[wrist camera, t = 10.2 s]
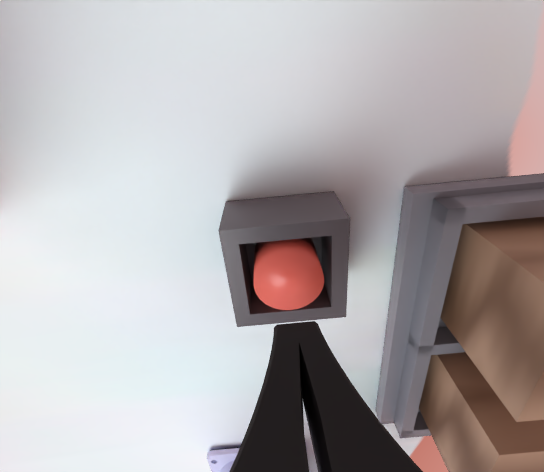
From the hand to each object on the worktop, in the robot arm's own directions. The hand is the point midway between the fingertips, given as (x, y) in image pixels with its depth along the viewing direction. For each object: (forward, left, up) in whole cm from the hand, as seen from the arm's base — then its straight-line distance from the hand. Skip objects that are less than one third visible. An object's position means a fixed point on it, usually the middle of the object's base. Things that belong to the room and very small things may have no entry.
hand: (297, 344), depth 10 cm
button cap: (0, 0, -6) cm, 6 cm away
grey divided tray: (-6, -11, -7) cm, 14 cm away
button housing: (0, 0, -7) cm, 7 cm away
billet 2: (-11, -11, -6) cm, 16 cm away
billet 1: (-2, -11, -6) cm, 12 cm away
